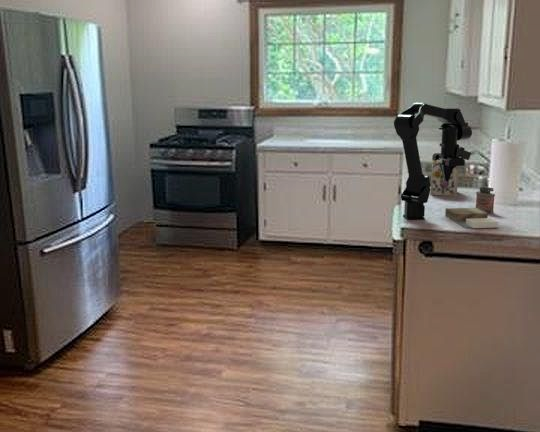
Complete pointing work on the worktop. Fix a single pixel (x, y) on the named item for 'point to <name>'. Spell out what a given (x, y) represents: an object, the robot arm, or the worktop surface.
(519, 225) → the worktop surface
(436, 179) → the decorative jar
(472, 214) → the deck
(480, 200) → the lighter
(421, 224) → the worktop surface
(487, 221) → the rectangular block
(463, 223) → the mat
